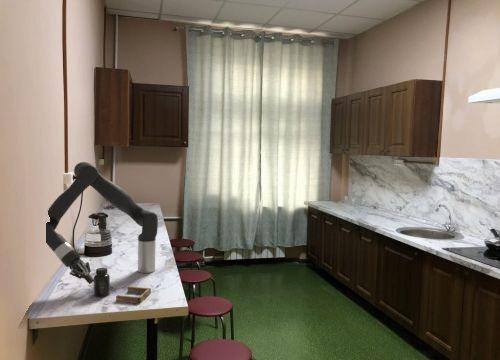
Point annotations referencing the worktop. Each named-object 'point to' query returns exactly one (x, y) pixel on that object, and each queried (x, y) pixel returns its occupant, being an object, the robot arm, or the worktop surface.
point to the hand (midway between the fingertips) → (92, 282)
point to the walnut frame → (131, 299)
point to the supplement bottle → (101, 283)
